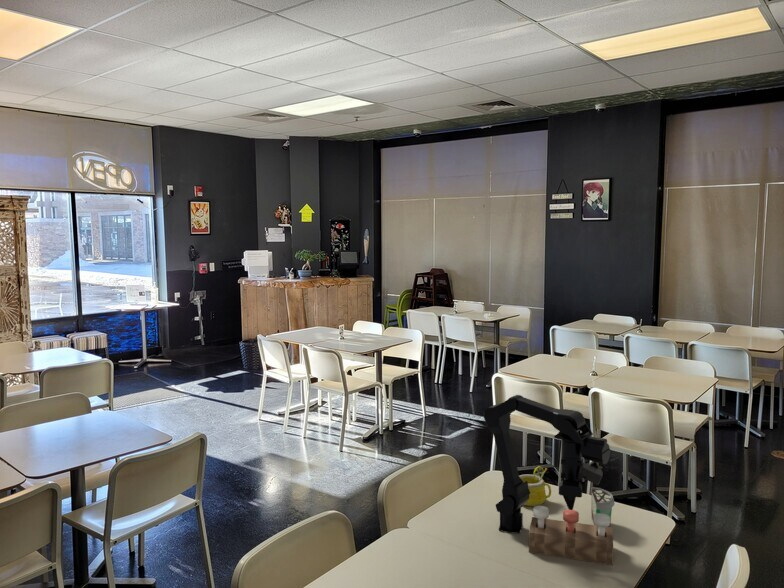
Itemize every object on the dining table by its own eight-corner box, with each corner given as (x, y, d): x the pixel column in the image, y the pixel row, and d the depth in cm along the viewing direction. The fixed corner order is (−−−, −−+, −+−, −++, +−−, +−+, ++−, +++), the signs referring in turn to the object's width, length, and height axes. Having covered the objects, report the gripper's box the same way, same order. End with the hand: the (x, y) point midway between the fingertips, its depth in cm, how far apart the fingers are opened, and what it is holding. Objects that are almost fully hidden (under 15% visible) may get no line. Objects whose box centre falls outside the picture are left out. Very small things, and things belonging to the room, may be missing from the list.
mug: (517, 508, 198) (517, 474, 197) (511, 494, 209) (511, 462, 208) (555, 508, 198) (555, 474, 196) (547, 494, 208) (547, 462, 207)
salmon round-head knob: (562, 540, 170) (562, 515, 169) (563, 533, 174) (563, 508, 173) (578, 543, 168) (578, 517, 168) (578, 535, 173) (578, 510, 172)
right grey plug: (593, 545, 167) (593, 519, 166) (593, 537, 171) (593, 512, 171) (609, 547, 166) (610, 521, 165) (609, 539, 170) (609, 514, 169)
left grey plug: (532, 536, 173) (532, 511, 172) (533, 529, 177) (534, 504, 176) (547, 538, 171) (548, 513, 170) (548, 531, 175) (549, 506, 175)
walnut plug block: (528, 552, 171) (528, 532, 170) (532, 535, 180) (532, 516, 179) (612, 564, 163) (613, 544, 163) (611, 546, 173) (612, 527, 172)
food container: (617, 536, 179) (617, 504, 178) (596, 534, 180) (596, 503, 179) (610, 517, 191) (611, 487, 190) (590, 515, 192) (591, 486, 191)
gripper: (601, 470, 157) (600, 526, 159) (600, 447, 175) (599, 497, 177) (558, 466, 161) (558, 520, 163) (562, 443, 179) (561, 492, 180)
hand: (570, 507), depth 170 cm, fingers open, 3 cm apart
